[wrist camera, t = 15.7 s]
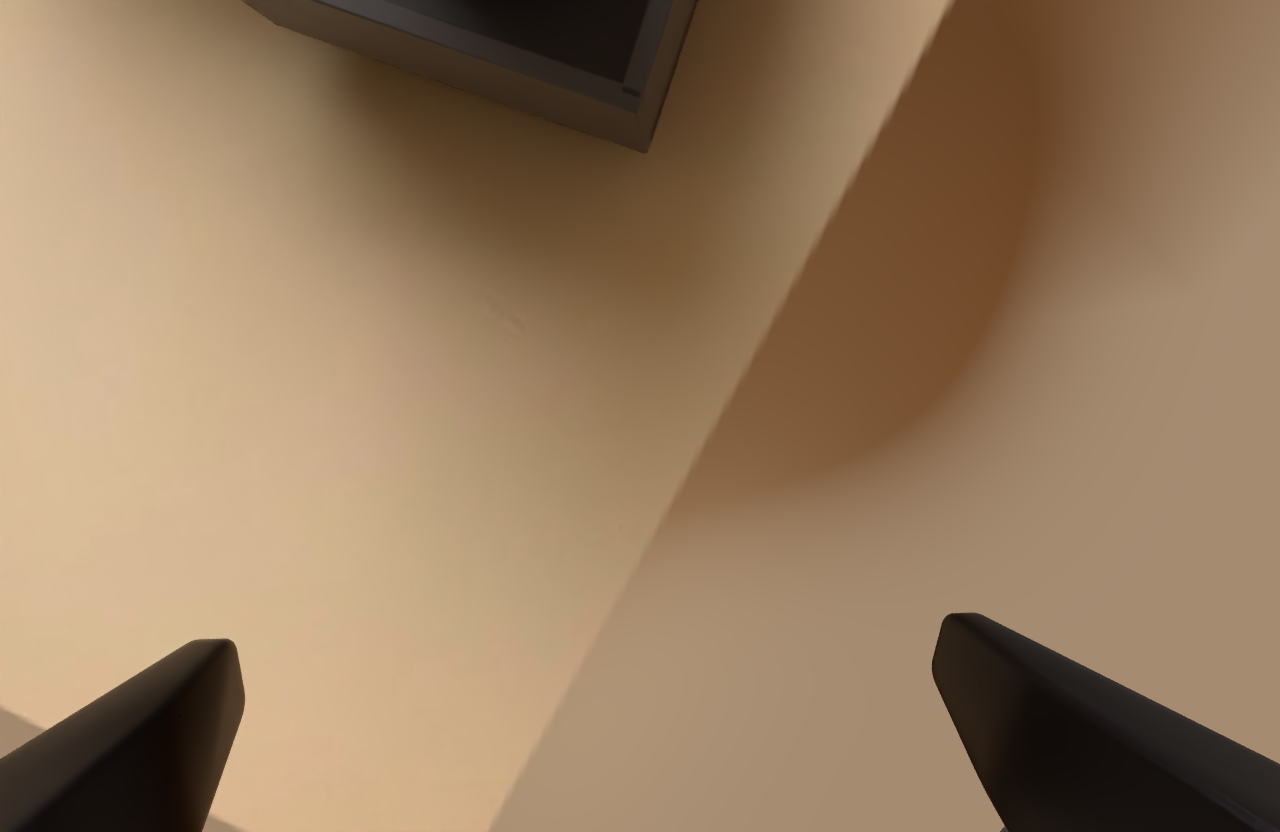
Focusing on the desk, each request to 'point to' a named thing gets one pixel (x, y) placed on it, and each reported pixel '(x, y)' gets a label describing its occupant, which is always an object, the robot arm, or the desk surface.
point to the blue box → (520, 52)
